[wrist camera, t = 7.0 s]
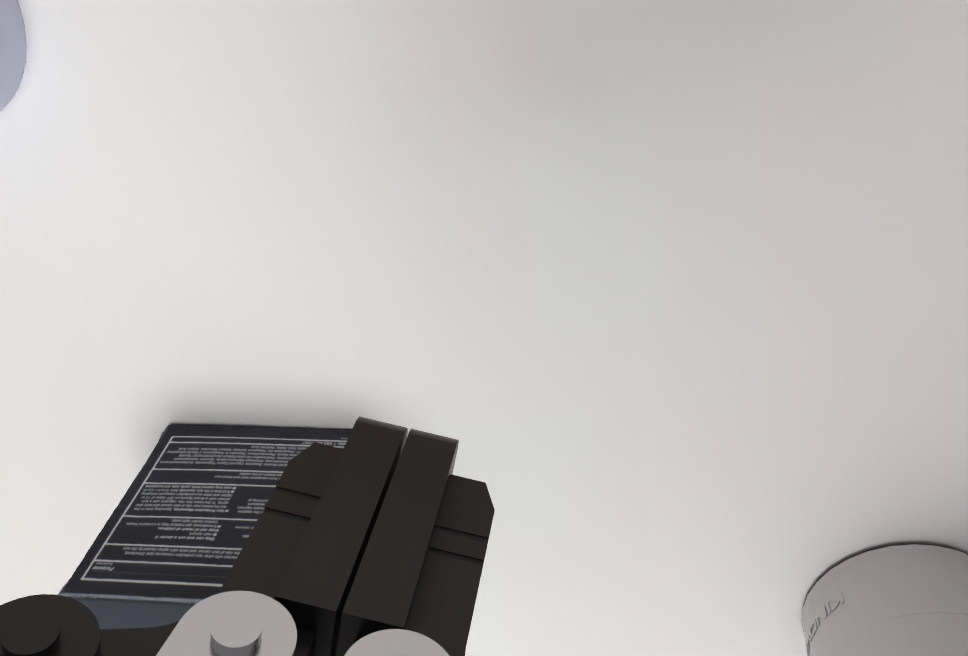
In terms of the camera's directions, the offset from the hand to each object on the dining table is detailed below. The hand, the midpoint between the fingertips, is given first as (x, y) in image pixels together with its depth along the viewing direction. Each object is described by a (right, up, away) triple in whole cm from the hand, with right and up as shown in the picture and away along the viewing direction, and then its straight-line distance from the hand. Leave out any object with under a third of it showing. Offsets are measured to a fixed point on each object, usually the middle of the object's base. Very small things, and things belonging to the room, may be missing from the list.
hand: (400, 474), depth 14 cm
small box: (-8, -5, +31) cm, 32 cm away
